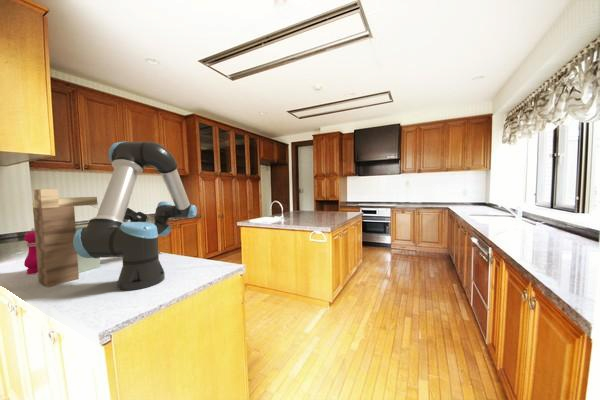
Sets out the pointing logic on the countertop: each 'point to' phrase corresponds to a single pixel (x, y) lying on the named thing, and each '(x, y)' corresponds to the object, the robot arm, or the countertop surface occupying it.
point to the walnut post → (55, 245)
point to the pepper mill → (31, 253)
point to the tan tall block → (59, 199)
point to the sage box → (86, 259)
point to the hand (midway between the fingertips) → (98, 202)
